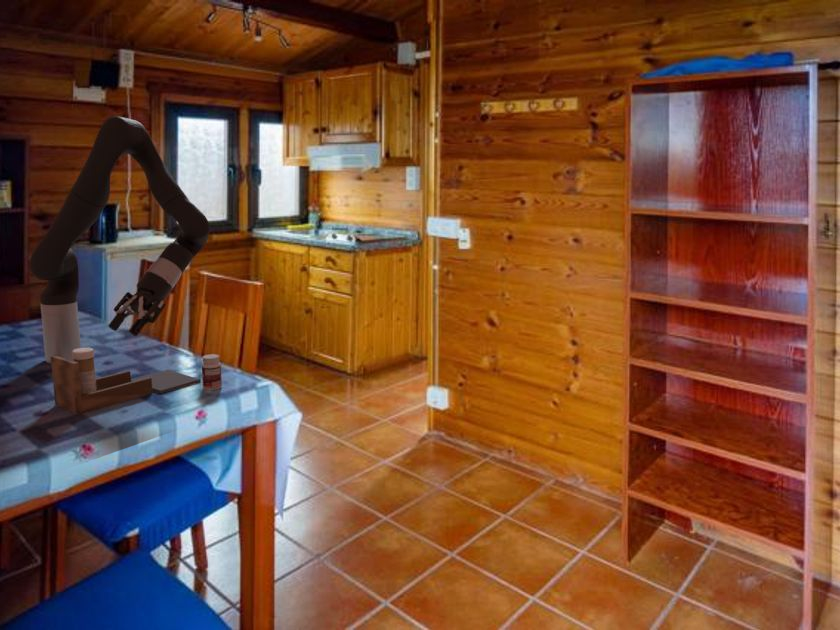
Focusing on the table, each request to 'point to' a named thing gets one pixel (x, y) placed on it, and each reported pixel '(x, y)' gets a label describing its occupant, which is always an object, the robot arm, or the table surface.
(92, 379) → the sprinkles bottle
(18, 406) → the table surface
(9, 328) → the table surface
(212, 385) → the pill bottle
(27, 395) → the table surface
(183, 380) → the rubber mat
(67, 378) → the shelf lane
